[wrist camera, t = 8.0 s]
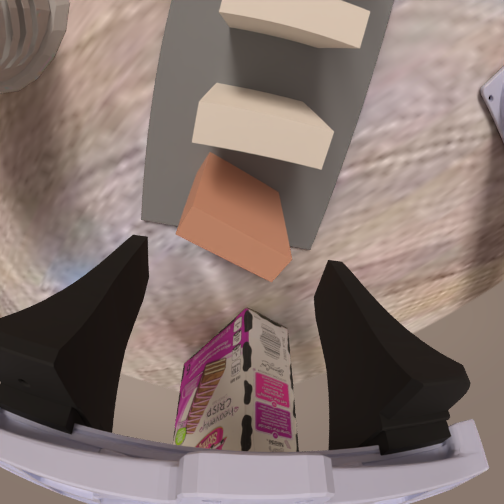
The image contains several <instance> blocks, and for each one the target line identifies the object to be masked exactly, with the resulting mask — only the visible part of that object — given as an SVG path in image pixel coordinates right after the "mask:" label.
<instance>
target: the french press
mask: <svg viewBox="0 0 504 504" xmlns="http://www.w3.org/2000/svg"><path fill="white" fill-rule="evenodd" d="M69 4H70V3H69V0H0V93H7V92H15V91H19V90H21V89H22V88H24V87H25V86H27V85H28V84H30V83H31V82H33V81H35V80H36V79H38V77H39V76H40V75H41V73H42V72H43V71H44V70H45V68H46V67H47V66H48V65H49V63H50V62H51V61H52V60H53V58H54V57H55V55H56V52H57V50H58V47H59V45H60V43H61V40H62V38H63V36H64V34H65V31H66V25H67V18H68V11H69Z"/></svg>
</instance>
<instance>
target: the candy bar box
mask: <svg viewBox="0 0 504 504" xmlns="http://www.w3.org/2000/svg"><path fill="white" fill-rule="evenodd" d="M173 445H181V446H188V447H197V448H207V449H218V450H232V451H252V452H299V450H298V437H297V424H296V414H295V404H294V391H293V378H292V368H291V357H290V347H289V338H288V329H287V328H286V327H284V326H282V325H280V324H278V323H276V322H274V321H272V320H270V319H268V318H267V317H265V316H263V315H261V314H260V313H258V312H256V311H254V310H252V309H249V308H246V309H244V310H243V311H242V312H241V313H240V314H239V315H238V316H237V317H236V318H235V319H234V320H233V321H232V322H230V323H229V324H228V325H227V326H226V327H225V328H224V329H223V330H222V331H221V332H220V333H219V334H217V335H216V336H215V337H214V338H213V339H212V340H211V341H210V342H208V343H207V344H206V345H205V346H204V347H203V348H202V349H201V350H199V351H198V352H197V353H196V354H195V355H194V356H193V357H191V358H190V359H189V360H188V361H187V362H186V363H184V368H183V374H182V380H181V386H180V395H179V402H178V408H177V417H176V423H175V431H174V439H173Z"/></svg>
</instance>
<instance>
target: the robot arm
mask: <svg viewBox="0 0 504 504" xmlns="http://www.w3.org/2000/svg"><path fill="white" fill-rule="evenodd" d="M481 95H482V97H483V99H484V101H485V103H486V105H487V107H488V109H489V111H490V113H491V115H492V118H493V120H494V122H495V124H496V126H497V129H498V131H499V133H500V136H501V138H502V140H503V143H504V66H503V67H502V68H501V69H500V70H499V71H498V72H497V73H496V74H495V75H494V76H493V77H492V78H490V79H489V80H488V81H487V82H486V83H485V84H484V85H483V86H482V87H481ZM489 96H490V100H489ZM148 279H149V267H148V237H146V236H138V235H132V236H131V237H130V238H129V239H127V240H126V241H125V242H124V243H123V244H122V245H121V246H119V247H118V248H117V249H116V250H115V251H114V252H113V253H111V254H110V255H109V256H108V257H107V258H106V259H104V260H103V261H102V262H101V263H100V264H99V265H97V266H96V267H95V268H93V269H92V270H91V271H90V272H88V273H87V274H86V275H84V276H83V277H82V278H80V279H79V280H77V281H76V282H74V283H73V284H71V285H70V286H68V287H67V288H65V289H63V290H62V291H60V292H58V293H56V294H55V295H53V296H51V297H49V298H47V299H46V300H44V301H42V302H39V303H37V304H35V305H33V306H31V307H29V308H26V309H24V310H21V311H19V312H16V313H13V314H11V315H8V316H5V317H2V318H0V382H1V384H0V467H2V468H4V469H6V470H7V471H9V472H12V473H14V474H16V475H18V476H20V477H22V478H24V479H26V480H29V481H31V482H33V483H35V484H37V485H40V486H42V487H45V488H47V489H49V490H52V491H54V492H57V493H59V494H62V495H65V496H67V497H70V498H73V499H76V500H79V501H81V502H84V503H88V504H410V503H413V502H416V501H419V500H422V499H425V498H428V497H431V496H434V495H437V494H440V493H442V492H445V491H448V490H451V489H453V488H455V487H457V486H458V485H461V484H463V483H464V482H466V481H468V480H470V479H472V478H474V477H476V476H477V475H479V474H481V473H483V472H485V471H486V470H488V468H489V466H488V462H487V459H486V456H485V453H484V450H483V446H482V443H481V440H480V437H479V434H478V431H477V428H476V425H475V422H474V420H473V419H469V420H466V421H462V422H458V423H455V424H452V425H450V426H448V424H447V422H446V420H448V419H449V418H450V414H449V412H448V410H449V409H450V408H451V407H452V406H453V405H454V404H455V403H456V402H458V400H460V399H461V398H462V397H463V396H464V395H465V394H466V392H467V390H468V389H469V387H470V381H469V378H468V376H467V374H466V371H465V369H464V367H463V365H462V364H460V363H458V362H456V361H454V360H452V359H450V358H448V357H446V356H445V355H443V354H441V353H439V352H438V351H436V350H435V349H433V348H432V347H430V346H429V345H427V344H426V343H424V342H423V341H421V340H420V339H419V338H418V337H416V336H415V335H414V334H412V333H411V332H410V331H408V330H407V329H406V328H405V327H404V326H402V325H401V324H400V323H399V322H398V321H397V320H396V319H395V318H393V317H392V316H391V315H390V314H389V313H388V312H387V311H386V310H385V309H384V308H383V307H382V306H381V305H380V304H379V303H378V301H377V300H376V299H375V298H374V297H373V296H372V295H371V294H370V293H369V292H368V290H367V289H366V288H365V287H364V286H363V285H362V284H361V282H360V281H359V280H358V279H357V278H356V277H355V276H354V274H353V273H352V272H351V271H350V270H349V269H348V268H347V267H346V265H345V264H344V263H343V262H339V261H332V260H328V262H327V264H326V267H325V270H324V272H323V275H322V278H321V280H320V283H319V285H318V288H317V290H316V293H315V295H314V305H315V316H316V322H317V327H318V331H319V336H320V340H321V345H322V349H323V354H324V359H325V364H326V370H327V379H328V392H329V418H330V419H329V450H326V451H307V452H306V451H305V452H252V451H232V450H218V449H207V448H197V447H188V446H181V445H173V444H167V443H160V442H154V441H148V440H143V439H138V438H133V437H128V436H123V435H118V434H114V433H112V428H113V418H114V409H115V402H116V395H117V388H118V382H119V377H120V372H121V367H122V363H123V358H124V353H125V349H126V346H127V343H128V340H129V337H130V334H131V331H132V329H133V326H134V323H135V321H136V318H137V315H138V312H139V310H140V307H141V304H142V302H143V299H144V295H145V291H146V287H147V283H148Z"/></svg>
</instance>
